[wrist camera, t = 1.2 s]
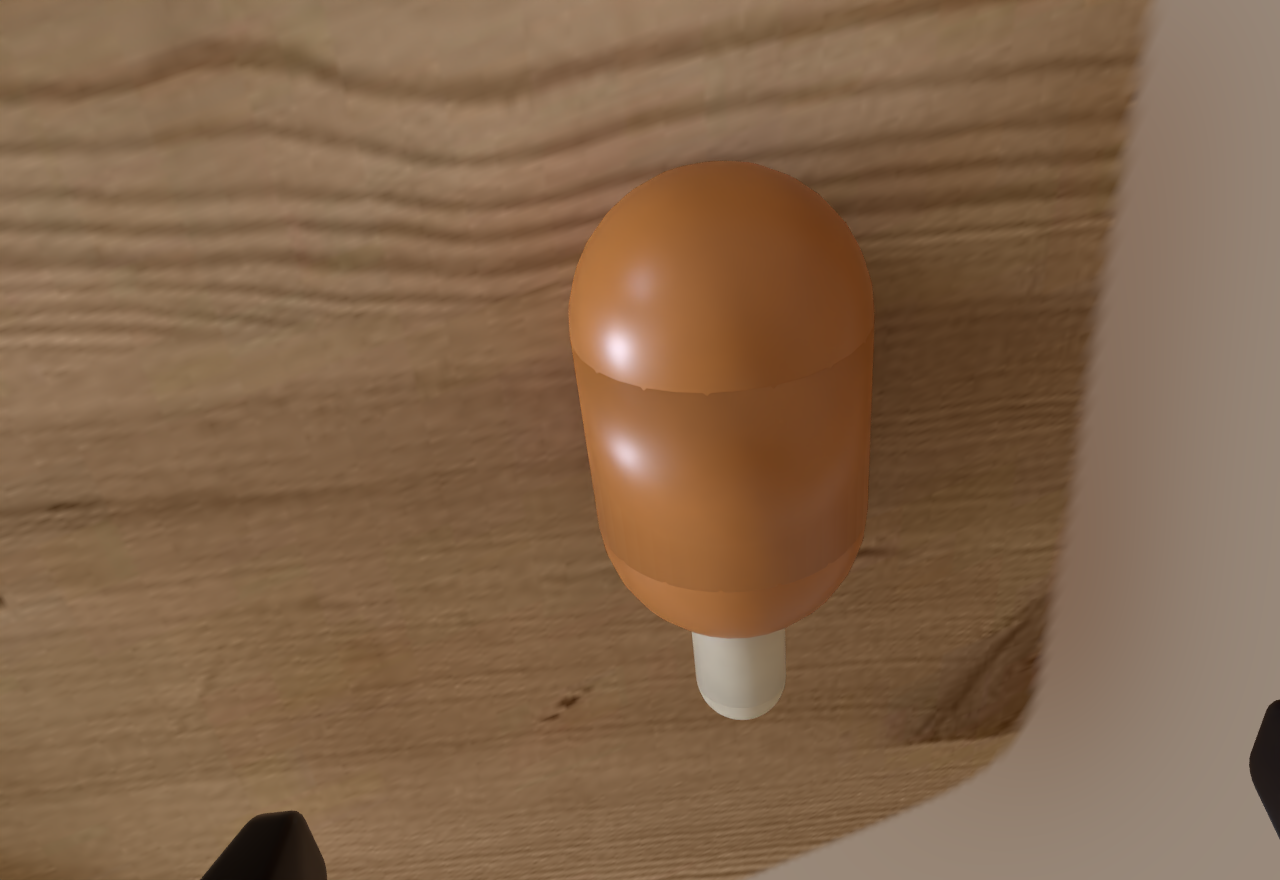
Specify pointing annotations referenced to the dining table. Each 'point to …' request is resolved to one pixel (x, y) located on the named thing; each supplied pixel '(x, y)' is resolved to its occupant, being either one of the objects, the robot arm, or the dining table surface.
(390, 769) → the dining table surface
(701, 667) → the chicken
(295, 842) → the robot arm
